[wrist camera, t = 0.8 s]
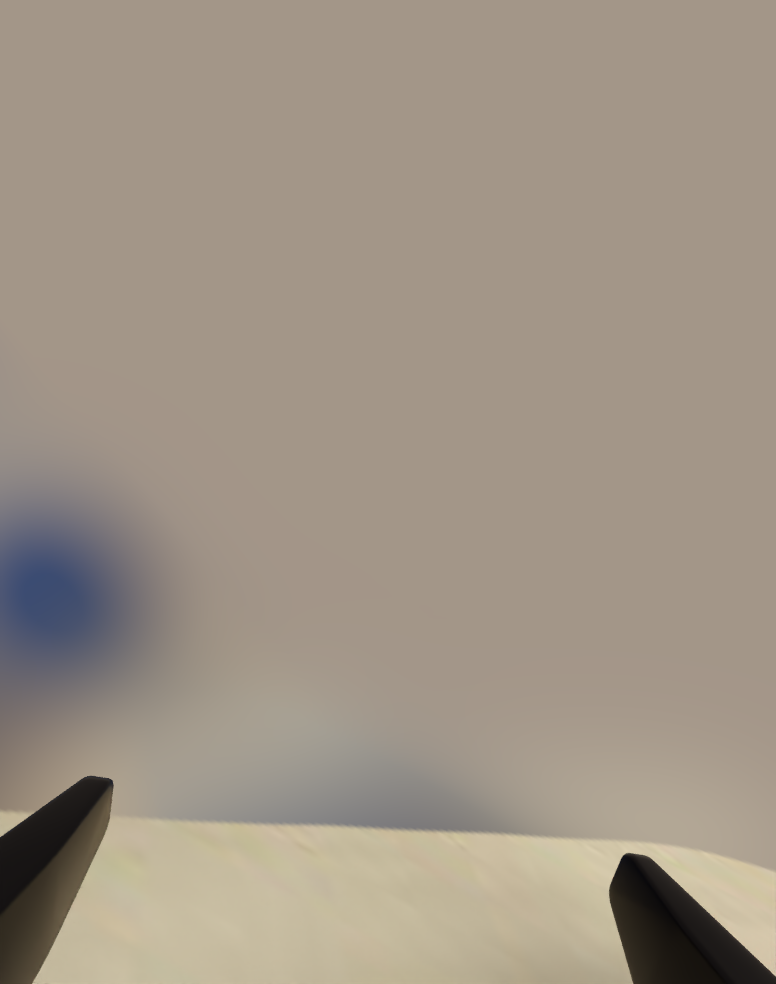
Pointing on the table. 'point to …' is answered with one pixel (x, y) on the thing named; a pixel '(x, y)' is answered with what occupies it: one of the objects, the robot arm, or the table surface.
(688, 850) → the table surface
